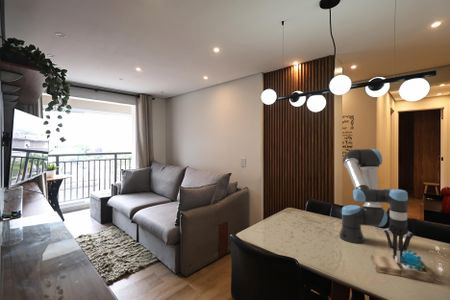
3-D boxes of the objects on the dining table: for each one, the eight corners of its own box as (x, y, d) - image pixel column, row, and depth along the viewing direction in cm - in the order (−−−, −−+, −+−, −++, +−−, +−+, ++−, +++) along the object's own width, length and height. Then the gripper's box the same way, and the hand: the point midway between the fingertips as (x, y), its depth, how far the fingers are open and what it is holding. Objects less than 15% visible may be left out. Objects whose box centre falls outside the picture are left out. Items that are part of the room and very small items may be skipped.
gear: (394, 256, 116) (406, 244, 118) (392, 260, 120) (403, 249, 122) (418, 274, 108) (430, 261, 110) (415, 278, 112) (426, 265, 114)
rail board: (376, 272, 113) (376, 264, 113) (370, 257, 128) (370, 250, 128) (433, 282, 104) (433, 274, 104) (419, 265, 118) (419, 258, 118)
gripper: (385, 219, 114) (384, 262, 115) (416, 222, 109) (415, 267, 110) (381, 214, 121) (381, 255, 122) (410, 218, 116) (410, 260, 116)
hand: (397, 261), depth 116 cm, fingers closed
